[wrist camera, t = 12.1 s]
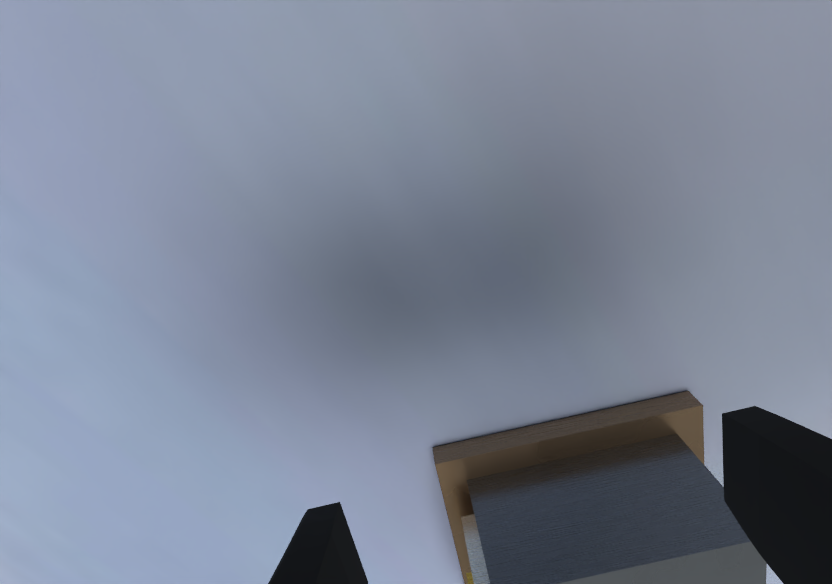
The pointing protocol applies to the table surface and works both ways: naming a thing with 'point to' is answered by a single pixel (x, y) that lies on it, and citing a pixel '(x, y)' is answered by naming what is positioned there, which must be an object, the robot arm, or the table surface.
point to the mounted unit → (595, 502)
